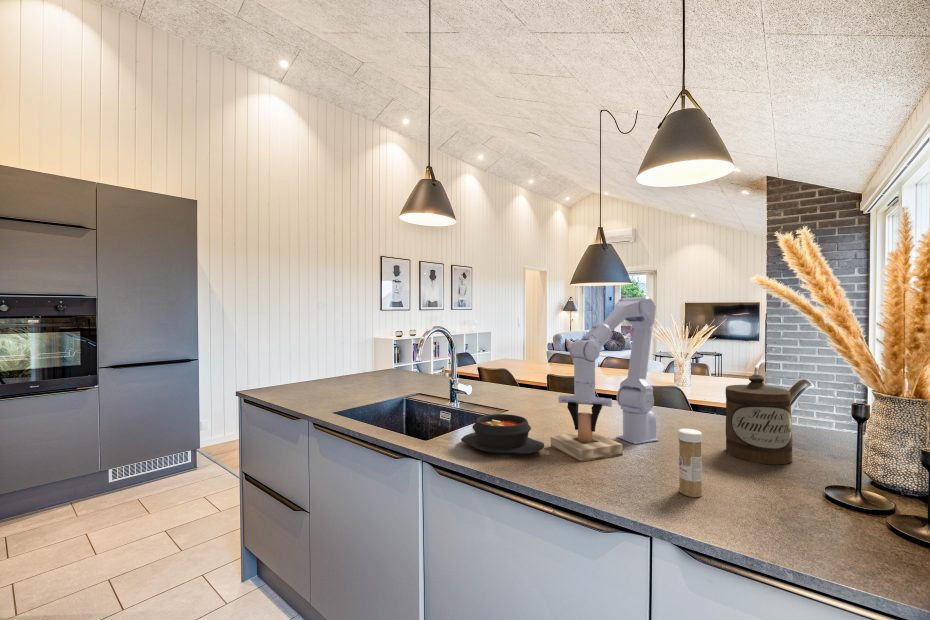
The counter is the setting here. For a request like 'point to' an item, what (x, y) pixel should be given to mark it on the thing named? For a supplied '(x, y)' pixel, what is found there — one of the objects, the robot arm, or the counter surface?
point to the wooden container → (759, 422)
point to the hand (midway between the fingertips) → (585, 429)
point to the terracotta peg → (585, 426)
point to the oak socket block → (586, 447)
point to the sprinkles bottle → (690, 462)
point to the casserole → (502, 435)
